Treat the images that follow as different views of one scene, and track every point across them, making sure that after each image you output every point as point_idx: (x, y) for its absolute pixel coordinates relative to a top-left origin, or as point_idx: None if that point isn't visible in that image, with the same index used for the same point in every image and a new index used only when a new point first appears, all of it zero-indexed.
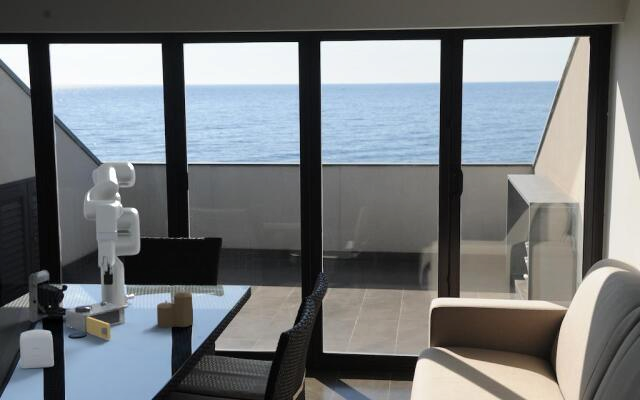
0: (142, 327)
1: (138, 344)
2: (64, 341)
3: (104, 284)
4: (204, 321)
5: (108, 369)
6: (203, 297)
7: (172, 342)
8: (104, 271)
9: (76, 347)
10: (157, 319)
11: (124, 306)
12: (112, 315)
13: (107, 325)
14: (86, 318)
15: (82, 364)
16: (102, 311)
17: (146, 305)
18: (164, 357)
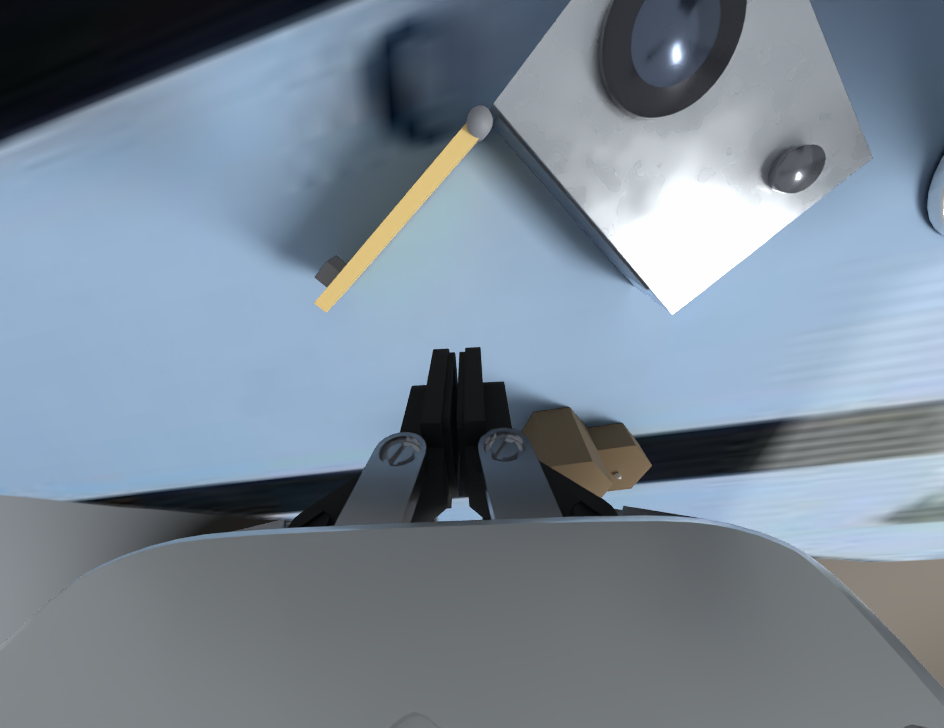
0: (538, 366)
1: (317, 390)
2: (296, 25)
3: (435, 353)
4: None
5: (15, 354)
6: (898, 483)
7: (355, 469)
8: (310, 506)
9: (210, 146)
10: (538, 431)
11: (941, 229)
12: (610, 253)
13: (318, 299)
14: (463, 126)
15: (3, 248)
16: (585, 210)
17: (914, 322)
18: (208, 470)
